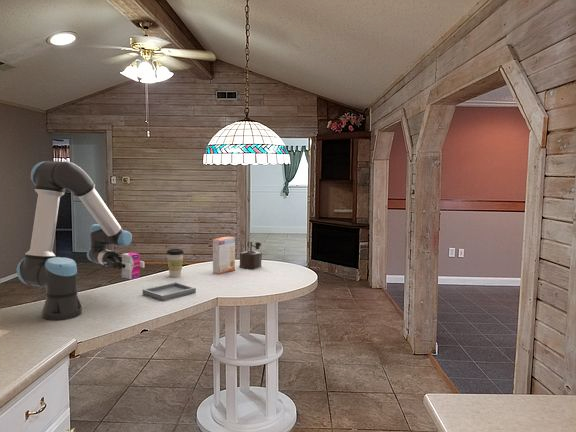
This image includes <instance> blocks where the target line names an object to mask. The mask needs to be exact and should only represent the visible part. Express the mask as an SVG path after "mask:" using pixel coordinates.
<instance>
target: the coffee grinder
mask: <svg viewBox="0 0 576 432" xmlns="http://www.w3.org/2000/svg"><path fill="white" fill-rule="evenodd" d="M249 243H250V244H249V245H250V248H249V249H247V250H245V251H243V252H239V268H241V269H246V270H247V269H248V270H256V269H259V268H258V267H260V268H261V267H262V257H263V256H262V254H263V253H262V252H259V251H256V250H260V247H261V246H262V242H261V241H259V240H258V241H255V243H254V244H253V241H250V242H249ZM253 248H254V249H255V250H254V249H253ZM255 268H256V269H255Z"/></svg>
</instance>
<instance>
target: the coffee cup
mask: <svg viewBox="0 0 576 432" xmlns="http://www.w3.org/2000/svg"><path fill="white" fill-rule="evenodd" d="M165 254H166V255H167V267H168V273H169V277H171V278H179V277H181V275H182V270H183V261H184V258H183V257H184V254H185V253H184V250H183V249H181V248H170V249H167V251H166V253H165Z"/></svg>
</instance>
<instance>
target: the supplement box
mask: <svg viewBox="0 0 576 432" xmlns="http://www.w3.org/2000/svg"><path fill="white" fill-rule="evenodd" d="M121 256H122V262H125V263H129V264H131V270H127V269H123V268H121V279H123V280H127V281H132V280H135V279H139V278H140V276H141V275H140V273H141V271H140V268H141V267H140V259H141V254H140V253H136V252H126V253H125V252H124V253H122V254H121Z"/></svg>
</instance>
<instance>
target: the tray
mask: <svg viewBox="0 0 576 432" xmlns="http://www.w3.org/2000/svg"><path fill="white" fill-rule="evenodd" d="M196 292H197V288H196V287H194V286H190V285H187V284H184V283H180V282H176V281H175V282H172V283H171V282H170V283H166V284H162V285H157V286H153V287H148V288H143V289H142V295H143V296H145V297H149V298H152V299H154V300H158V301H161V302H164V301H169V300H172V299H173V300H174V299H177V298H180V297H184V296H188V295H192V294H196Z"/></svg>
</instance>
